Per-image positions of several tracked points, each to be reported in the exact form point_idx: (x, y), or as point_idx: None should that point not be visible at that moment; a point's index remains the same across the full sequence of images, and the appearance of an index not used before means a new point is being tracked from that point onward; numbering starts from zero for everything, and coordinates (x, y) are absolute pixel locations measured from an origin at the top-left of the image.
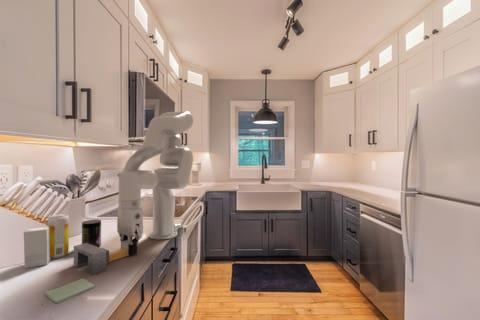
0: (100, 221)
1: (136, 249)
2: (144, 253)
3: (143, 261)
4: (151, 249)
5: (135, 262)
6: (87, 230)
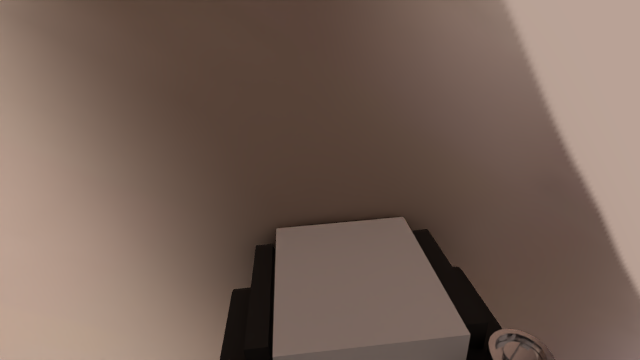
0: None
1: (443, 261)
2: (475, 155)
3: (615, 259)
4: (449, 12)
5: (562, 305)
6: None
